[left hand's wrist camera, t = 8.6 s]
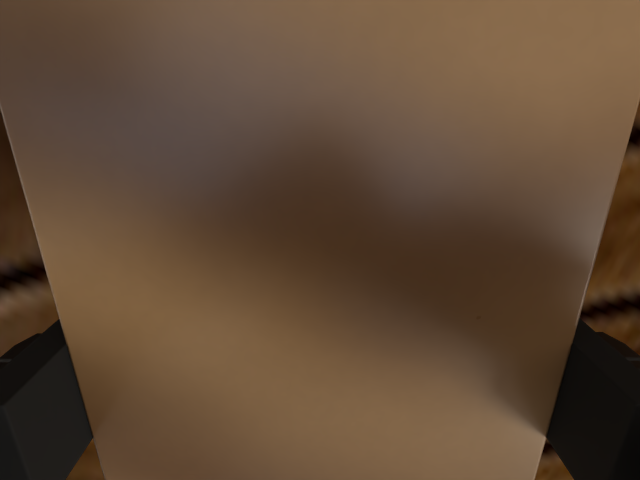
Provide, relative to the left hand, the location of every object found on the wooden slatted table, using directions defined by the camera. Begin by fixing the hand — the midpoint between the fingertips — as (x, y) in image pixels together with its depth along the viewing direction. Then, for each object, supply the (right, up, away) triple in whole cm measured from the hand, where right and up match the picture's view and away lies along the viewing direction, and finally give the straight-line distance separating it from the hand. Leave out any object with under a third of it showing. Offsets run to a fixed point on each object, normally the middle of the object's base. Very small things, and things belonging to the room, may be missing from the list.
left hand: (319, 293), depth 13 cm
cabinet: (0, +7, +3) cm, 8 cm away
